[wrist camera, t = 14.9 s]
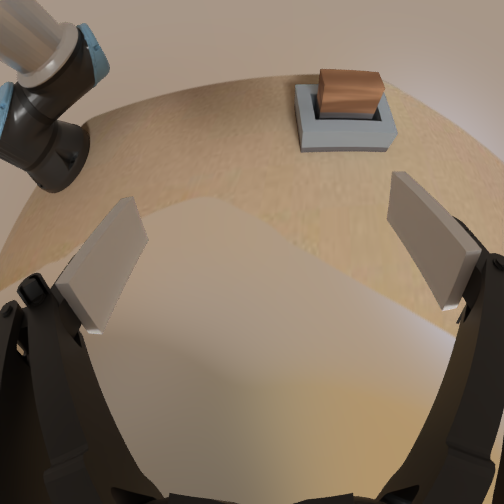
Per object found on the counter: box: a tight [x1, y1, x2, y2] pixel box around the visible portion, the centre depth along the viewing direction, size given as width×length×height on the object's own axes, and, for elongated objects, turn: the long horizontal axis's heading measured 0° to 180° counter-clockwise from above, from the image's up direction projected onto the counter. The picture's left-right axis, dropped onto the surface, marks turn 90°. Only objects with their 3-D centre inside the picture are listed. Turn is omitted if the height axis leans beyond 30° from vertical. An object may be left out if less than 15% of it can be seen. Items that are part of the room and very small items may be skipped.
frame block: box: [295, 84, 398, 152], centre depth 37 cm, size 9×14×6 cm, turn 92°
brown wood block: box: [315, 69, 385, 121], centre depth 34 cm, size 3×8×11 cm, turn 92°
